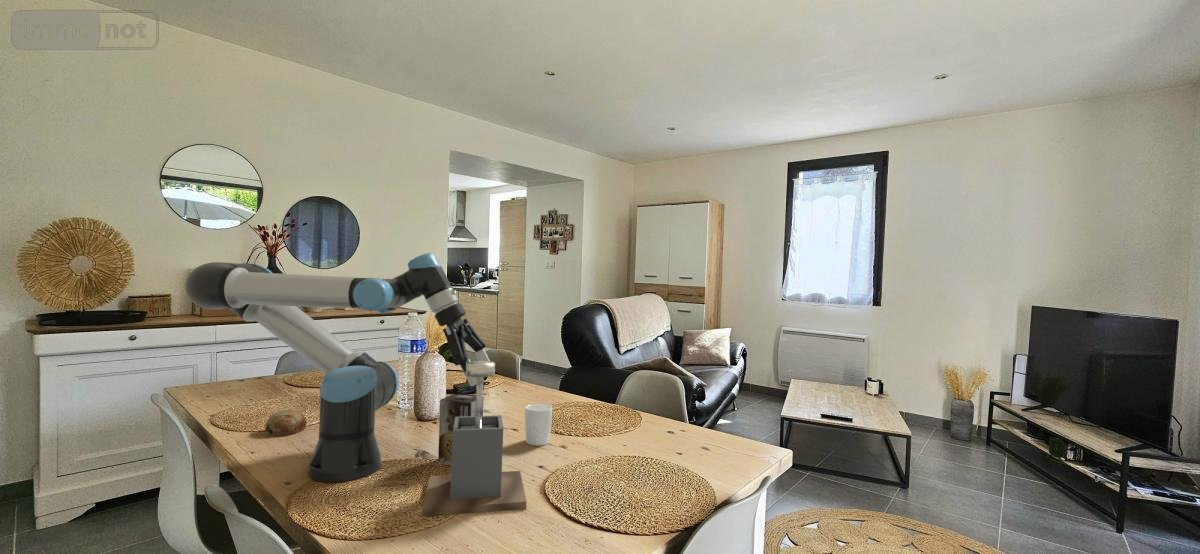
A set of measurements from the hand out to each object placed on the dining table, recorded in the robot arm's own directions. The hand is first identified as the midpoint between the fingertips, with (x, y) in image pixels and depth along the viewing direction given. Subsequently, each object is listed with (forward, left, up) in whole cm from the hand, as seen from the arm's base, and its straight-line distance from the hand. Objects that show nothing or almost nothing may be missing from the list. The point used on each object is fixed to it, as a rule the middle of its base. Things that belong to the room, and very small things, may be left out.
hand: (483, 377), depth 129 cm
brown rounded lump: (-55, +24, -20) cm, 63 cm away
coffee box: (-5, -8, -20) cm, 22 cm away
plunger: (-1, -28, -7) cm, 28 cm away
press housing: (-1, -28, -18) cm, 33 cm away
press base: (-1, -28, -20) cm, 34 cm away
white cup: (+16, +4, -20) cm, 26 cm away
